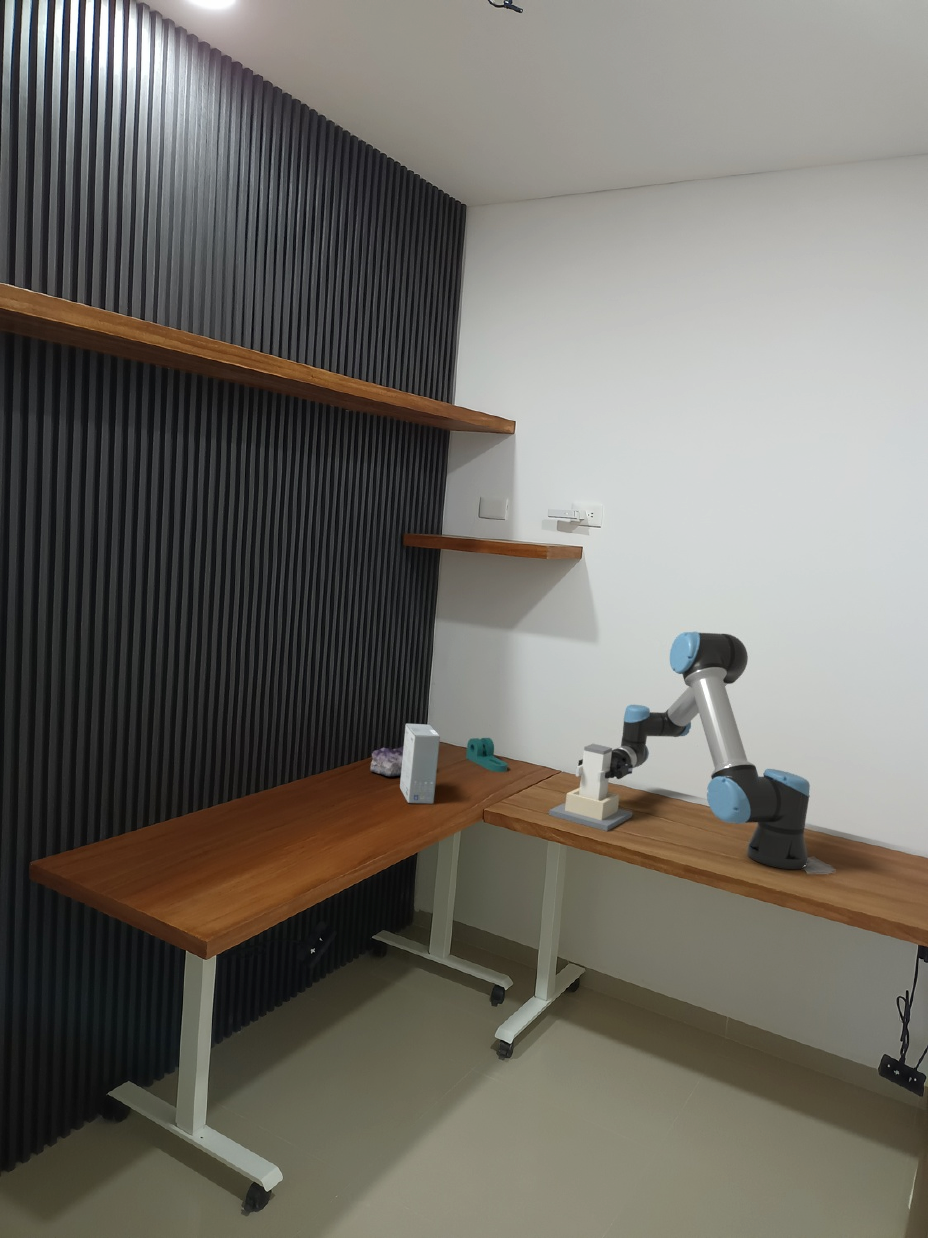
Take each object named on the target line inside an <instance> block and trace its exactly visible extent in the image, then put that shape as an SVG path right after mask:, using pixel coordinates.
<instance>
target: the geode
mask: <svg viewBox="0 0 928 1238" xmlns="http://www.w3.org/2000/svg"><path fill="white" fill-rule="evenodd" d="M403 748H404V746H400V747H398V748H391V747H390V746H389V747H388V748H386V747H381V748H380V749H376V750H374V751H372V753H371V758H372V760H371V762H370V770H369V771H370V772H371V773H375V774H379V775H382V776H386V777H396V776H401V770H402V759H403Z"/></svg>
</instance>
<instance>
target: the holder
mask: <svg viewBox="0 0 928 1238" xmlns="http://www.w3.org/2000/svg"><path fill="white" fill-rule="evenodd" d="M579 791H580V787H578V788H575V789H573V790H571V791H569V792H567V793H566V795H565V796H566V798H565V802H563V803H561V804H559V805H557V806H555V807H553V808H551V809H549V812H548V816H551V817H555V818H557V819H562V820H565V821H569V822H573V823H575V824H578V825H579V824H580V825H583V826H587V827H590V828H594V829H598V830H600V831H601V830H602V831H605V832H608V831H610V830H612V829H614V828H615V827H617V826H619V825H620V824H622V823H624V822H627V820H629V819H630V818H632V817H633V811H630V810H627V809H623V808H620V807H619V802H620V801H619V800H620V794H619V793H618V794H617V793H613V792H610V791H607V797H606V799H604V800H602V801H599V800H595V799H591V798H588V797H584V796H580V795H579Z"/></svg>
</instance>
